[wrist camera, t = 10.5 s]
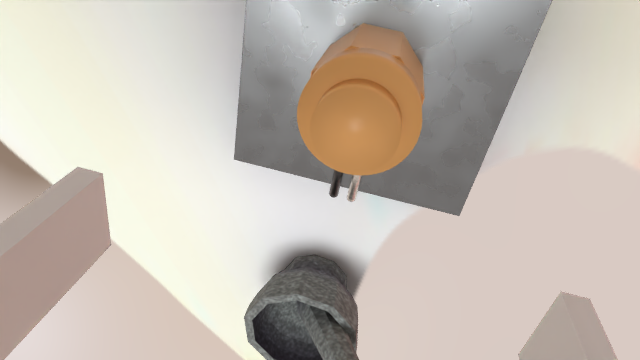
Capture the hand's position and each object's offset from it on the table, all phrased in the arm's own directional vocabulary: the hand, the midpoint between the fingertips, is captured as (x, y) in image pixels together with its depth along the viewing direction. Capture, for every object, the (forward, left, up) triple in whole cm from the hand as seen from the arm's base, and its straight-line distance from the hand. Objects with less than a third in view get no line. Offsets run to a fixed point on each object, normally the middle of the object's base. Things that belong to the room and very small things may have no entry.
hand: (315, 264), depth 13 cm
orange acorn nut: (0, 0, -19) cm, 19 cm away
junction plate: (0, 0, -21) cm, 21 cm away
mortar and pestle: (+21, 0, -22) cm, 30 cm away
